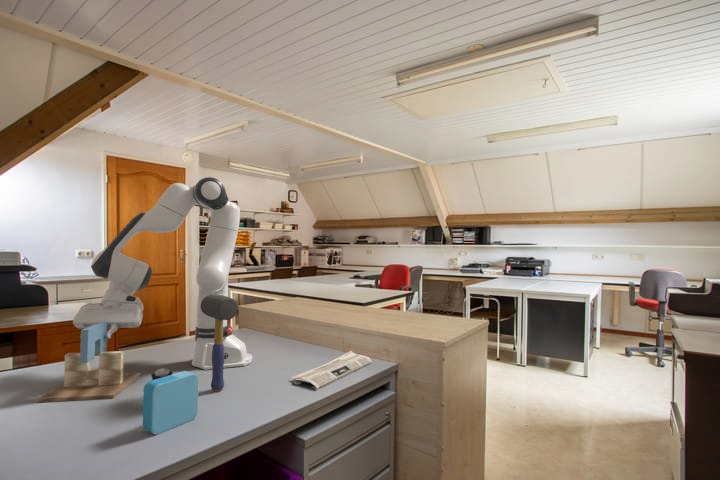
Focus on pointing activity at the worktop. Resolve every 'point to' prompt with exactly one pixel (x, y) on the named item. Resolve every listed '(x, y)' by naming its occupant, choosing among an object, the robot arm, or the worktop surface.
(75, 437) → the worktop surface
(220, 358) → the rubber mallet
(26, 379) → the worktop surface
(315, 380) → the newspaper
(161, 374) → the push button
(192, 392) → the blue carrying case
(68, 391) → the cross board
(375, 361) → the worktop surface
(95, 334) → the slotted plate
